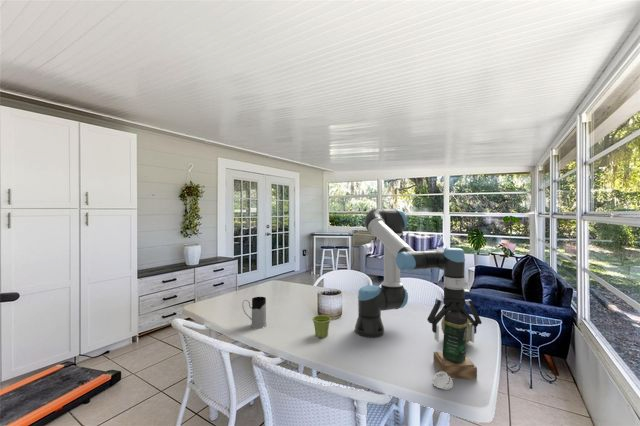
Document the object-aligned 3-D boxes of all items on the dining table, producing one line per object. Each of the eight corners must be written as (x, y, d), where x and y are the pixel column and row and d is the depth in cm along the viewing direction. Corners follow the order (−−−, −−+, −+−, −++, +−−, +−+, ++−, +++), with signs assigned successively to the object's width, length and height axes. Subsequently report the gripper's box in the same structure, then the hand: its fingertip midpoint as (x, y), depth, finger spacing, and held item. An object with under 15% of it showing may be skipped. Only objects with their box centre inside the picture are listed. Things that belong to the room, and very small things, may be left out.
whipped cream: (447, 396, 102) (448, 383, 102) (428, 387, 107) (429, 374, 106) (454, 384, 108) (455, 372, 108) (436, 376, 113) (437, 364, 112)
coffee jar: (461, 366, 111) (463, 317, 111) (440, 358, 116) (441, 311, 116) (468, 356, 118) (470, 310, 118) (447, 349, 124) (449, 305, 123)
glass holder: (263, 329, 159) (263, 301, 159) (238, 327, 162) (238, 299, 162) (269, 323, 168) (269, 296, 168) (246, 321, 170) (246, 295, 170)
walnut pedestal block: (444, 378, 112) (444, 365, 112) (433, 362, 124) (433, 350, 124) (476, 379, 111) (476, 366, 111) (463, 363, 123) (463, 351, 123)
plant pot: (317, 340, 145) (317, 323, 145) (309, 333, 153) (309, 317, 153) (334, 337, 149) (334, 319, 149) (325, 330, 157) (325, 314, 157)
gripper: (425, 289, 114) (425, 344, 114) (491, 290, 113) (491, 345, 113) (419, 284, 122) (419, 336, 122) (481, 285, 120) (481, 337, 120)
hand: (454, 340), depth 117 cm, fingers open, 13 cm apart
